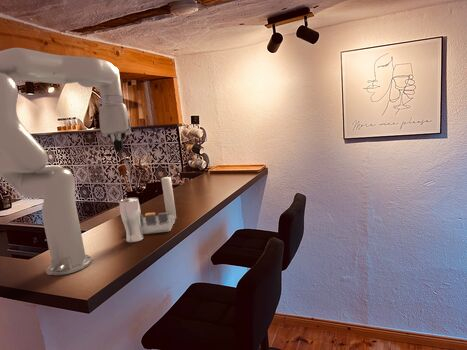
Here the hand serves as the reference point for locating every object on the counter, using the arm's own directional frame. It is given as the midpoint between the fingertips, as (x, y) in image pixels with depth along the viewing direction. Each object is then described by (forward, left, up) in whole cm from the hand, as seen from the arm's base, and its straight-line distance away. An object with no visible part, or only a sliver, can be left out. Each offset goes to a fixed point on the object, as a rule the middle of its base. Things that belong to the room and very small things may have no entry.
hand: (119, 151), depth 127 cm
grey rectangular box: (+2, -12, -29) cm, 32 cm away
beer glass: (-9, -3, -32) cm, 34 cm away
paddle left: (+2, -2, -29) cm, 29 cm away
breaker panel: (+2, -7, -32) cm, 33 cm away
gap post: (+12, -13, -32) cm, 37 cm away
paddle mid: (+2, -7, -29) cm, 30 cm away
